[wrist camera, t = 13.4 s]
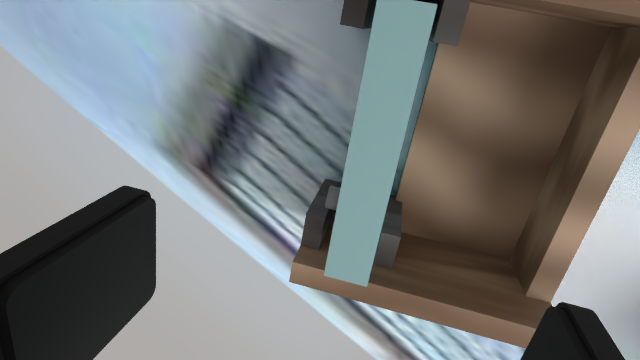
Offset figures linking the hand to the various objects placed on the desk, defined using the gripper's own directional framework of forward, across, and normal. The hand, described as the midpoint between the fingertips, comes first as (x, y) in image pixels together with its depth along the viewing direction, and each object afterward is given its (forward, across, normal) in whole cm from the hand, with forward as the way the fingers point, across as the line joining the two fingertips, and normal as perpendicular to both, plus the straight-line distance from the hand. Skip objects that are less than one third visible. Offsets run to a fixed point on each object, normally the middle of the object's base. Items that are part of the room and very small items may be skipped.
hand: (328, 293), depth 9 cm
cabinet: (+20, -5, 0) cm, 21 cm away
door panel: (+20, 0, 0) cm, 20 cm away
